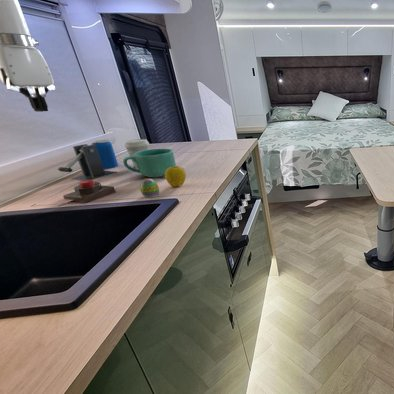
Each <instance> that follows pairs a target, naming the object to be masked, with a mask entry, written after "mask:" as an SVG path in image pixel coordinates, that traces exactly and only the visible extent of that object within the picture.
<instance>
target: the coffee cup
mask: <svg viewBox="0 0 394 394" xmlns="http://www.w3.org/2000/svg"><path fill="white" fill-rule="evenodd" d="M124 147H125V149H126V151H127V153H128V156H132V157H135V156H134V154H135V153H137V152H140V151H145V150H150V142H149V141H148V140H147V139H146V138H137V139H136V138H135V139H130V140H125V142H124ZM131 162H132V164H133V166H134V169H138V167H137V163H136V162H135V161H134V160H131Z"/></svg>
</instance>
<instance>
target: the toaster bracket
mask: <svg viewBox="0 0 394 394" xmlns="http://www.w3.org/2000/svg"><path fill="white" fill-rule="evenodd" d="M84 145H86V146H84ZM80 148H81V149H82V151H83V154H84V156H82V157H81V158H80V159H79V160H78V161H77V162H78V164H79V166H80V169H81V172H82V175H78V176H74V177H71V178H70V180H77V181H84V180H93V181H94V180H96V179H100V178H103V177H106V176H110V175H112V174H117V173H118V171H114V170H113V171H111V170H105V169H103V166H102V163H101V160H100V157H99V154H98V151H97V148H96V145H92V144H89V145H88V144H86V143H83V144H80V145H73V146H72V149H73V150H74V154H75V157H76V156H77V155H78V154H79V153H80V151H79V149H80Z"/></svg>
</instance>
